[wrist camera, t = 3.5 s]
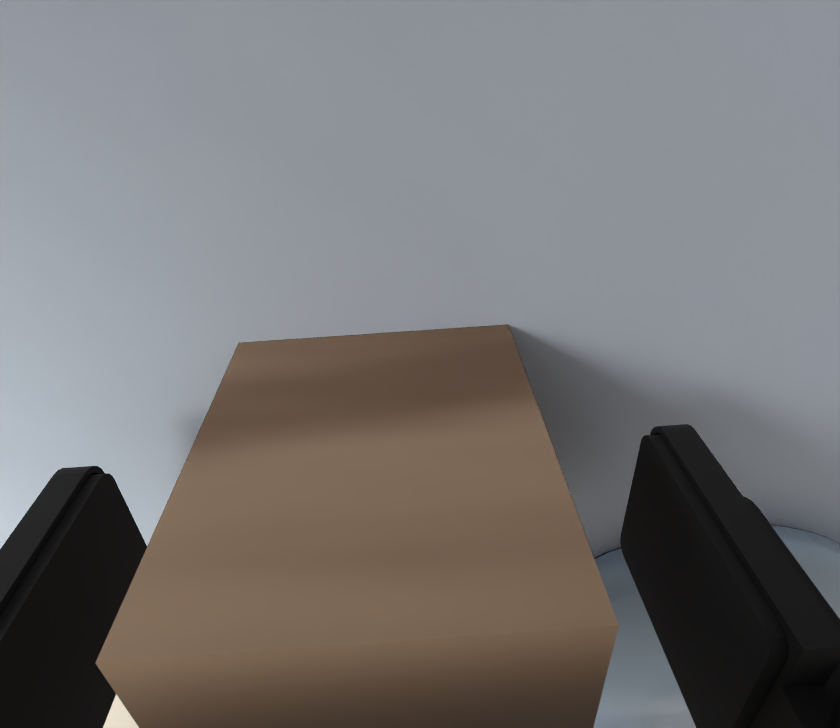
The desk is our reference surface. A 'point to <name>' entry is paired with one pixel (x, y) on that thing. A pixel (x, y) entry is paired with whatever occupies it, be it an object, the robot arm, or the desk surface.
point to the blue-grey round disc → (643, 654)
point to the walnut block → (367, 550)
